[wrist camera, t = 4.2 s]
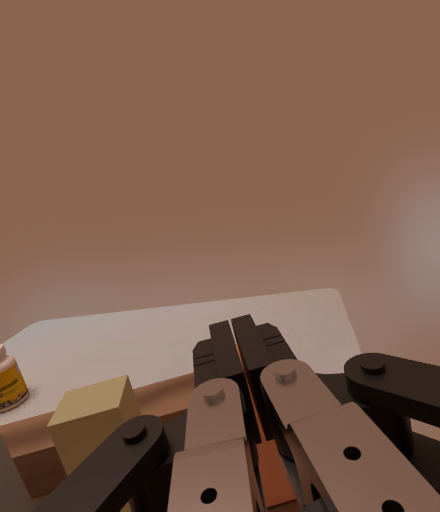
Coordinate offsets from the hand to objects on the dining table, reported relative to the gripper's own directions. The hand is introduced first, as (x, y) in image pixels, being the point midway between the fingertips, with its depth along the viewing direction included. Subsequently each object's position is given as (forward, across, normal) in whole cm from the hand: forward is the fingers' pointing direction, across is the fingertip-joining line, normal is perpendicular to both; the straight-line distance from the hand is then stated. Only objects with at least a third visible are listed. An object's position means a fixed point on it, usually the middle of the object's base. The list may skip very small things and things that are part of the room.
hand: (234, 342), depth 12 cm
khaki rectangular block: (+12, +11, +20) cm, 26 cm away
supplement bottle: (+42, +37, +22) cm, 60 cm away
